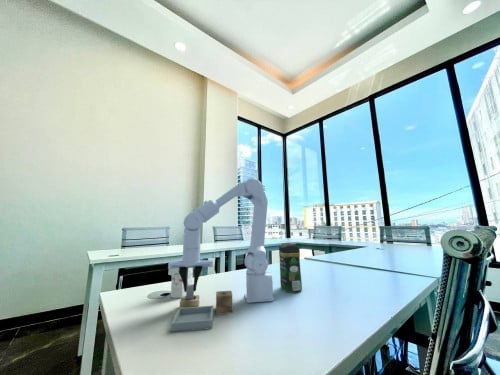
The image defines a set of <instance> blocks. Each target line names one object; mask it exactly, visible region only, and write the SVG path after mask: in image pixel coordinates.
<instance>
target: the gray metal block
mask: <svg viewBox="0 0 500 375" xmlns="http://www.w3.org/2000/svg"><path fill="white" fill-rule="evenodd" d="M193 286H194V283H192V285H187V288H186V300H194V295H195V291H193Z"/></svg>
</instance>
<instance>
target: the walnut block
mask: <svg viewBox="0 0 500 375" xmlns="http://www.w3.org/2000/svg"><path fill="white" fill-rule="evenodd" d="M215 294H216V296H215V314H216V315H220V314H232V313H233V292H232V290H223V291H221V290H219V291H216V292H215Z"/></svg>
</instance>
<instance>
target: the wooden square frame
mask: <svg viewBox="0 0 500 375" xmlns="http://www.w3.org/2000/svg"><path fill="white" fill-rule="evenodd" d="M200 296H201V295H200V294H194V300H186V296H182V298H180V301H179V308H188V307H200Z"/></svg>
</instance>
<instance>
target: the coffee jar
mask: <svg viewBox="0 0 500 375" xmlns="http://www.w3.org/2000/svg"><path fill="white" fill-rule="evenodd" d="M278 251H279V252H278V256H279V274H280V287H281V289H282V290H283V291H284V292H287V293H288V292H289V293H298V292H300V291H301V292H302V290H303V281H302V272H301V260H300V257H301V252H300V247H299V245H297V244H294V243H290V242H285V243H284V242H282V243H281V244H280V245H279V246H278Z"/></svg>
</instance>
